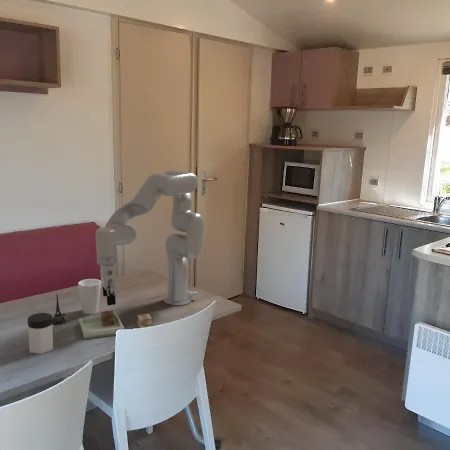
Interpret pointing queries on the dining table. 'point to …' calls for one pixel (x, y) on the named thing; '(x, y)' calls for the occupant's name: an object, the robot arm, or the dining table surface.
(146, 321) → the maple block
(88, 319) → the tray
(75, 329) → the dining table surface
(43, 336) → the jar
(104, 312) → the walnut block
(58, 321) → the eiffel tower figurine
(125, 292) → the dining table surface
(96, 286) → the foam cup
